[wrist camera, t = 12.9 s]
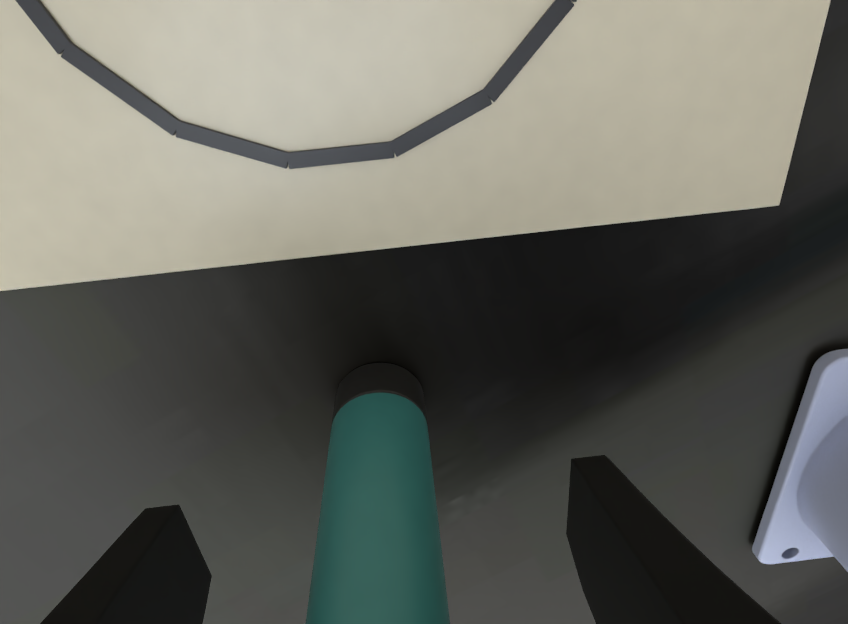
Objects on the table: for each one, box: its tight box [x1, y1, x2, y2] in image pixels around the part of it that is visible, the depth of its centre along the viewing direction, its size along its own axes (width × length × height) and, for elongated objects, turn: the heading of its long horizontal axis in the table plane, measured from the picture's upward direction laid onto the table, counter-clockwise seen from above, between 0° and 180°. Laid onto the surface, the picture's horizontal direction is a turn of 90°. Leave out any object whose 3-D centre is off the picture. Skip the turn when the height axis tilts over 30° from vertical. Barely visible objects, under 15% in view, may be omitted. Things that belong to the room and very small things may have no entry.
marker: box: [306, 363, 450, 624], centre depth 8 cm, size 2×2×10 cm
